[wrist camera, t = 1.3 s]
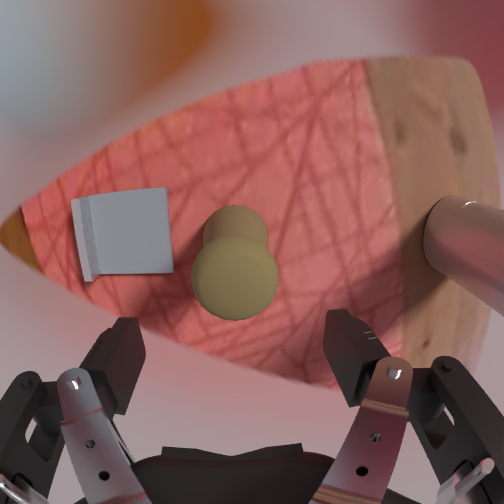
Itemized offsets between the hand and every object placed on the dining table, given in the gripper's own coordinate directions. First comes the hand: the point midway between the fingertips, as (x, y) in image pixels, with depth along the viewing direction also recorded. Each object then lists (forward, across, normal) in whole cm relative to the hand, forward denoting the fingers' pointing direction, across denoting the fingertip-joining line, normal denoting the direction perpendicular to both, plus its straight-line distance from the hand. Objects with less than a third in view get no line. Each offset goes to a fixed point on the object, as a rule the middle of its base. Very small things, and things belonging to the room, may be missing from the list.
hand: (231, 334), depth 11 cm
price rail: (+15, +14, -1) cm, 21 cm away
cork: (+15, 0, 0) cm, 15 cm away
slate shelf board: (+15, +10, -1) cm, 18 cm away
